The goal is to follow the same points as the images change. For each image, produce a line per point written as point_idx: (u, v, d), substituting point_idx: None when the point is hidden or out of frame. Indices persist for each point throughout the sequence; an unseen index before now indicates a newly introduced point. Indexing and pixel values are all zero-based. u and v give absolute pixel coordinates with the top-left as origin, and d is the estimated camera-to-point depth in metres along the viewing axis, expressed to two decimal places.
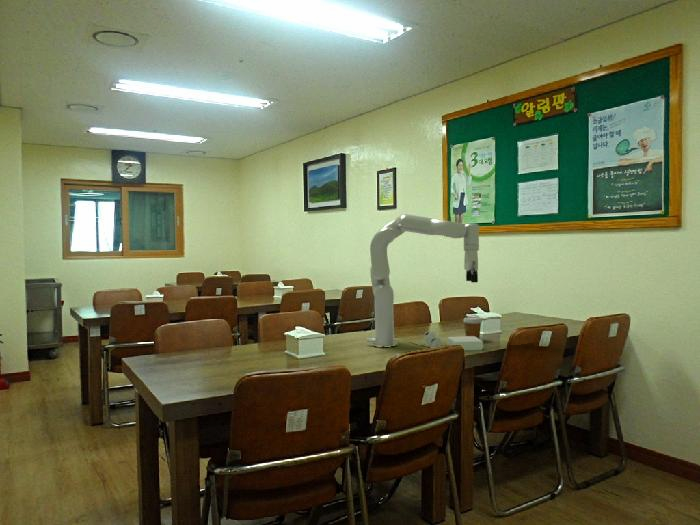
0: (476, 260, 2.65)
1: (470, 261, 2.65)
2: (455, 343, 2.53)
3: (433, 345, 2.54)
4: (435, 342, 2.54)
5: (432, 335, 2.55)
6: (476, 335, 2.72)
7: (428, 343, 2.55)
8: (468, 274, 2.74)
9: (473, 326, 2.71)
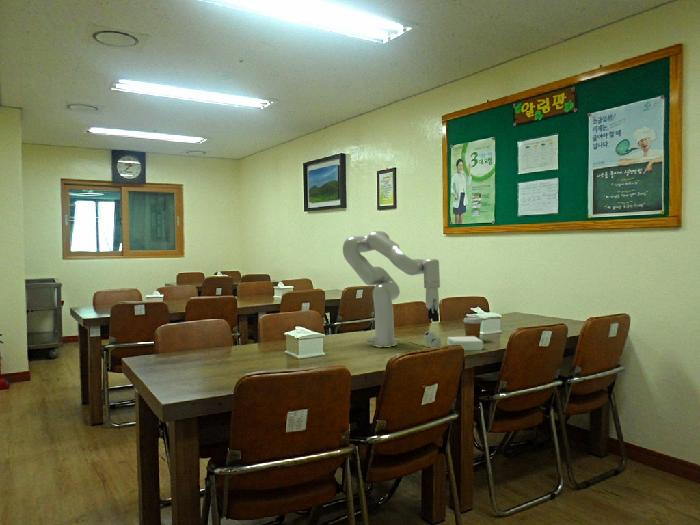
0: (437, 298, 2.52)
1: (430, 299, 2.51)
2: (455, 343, 2.53)
3: (433, 345, 2.54)
4: (435, 342, 2.54)
5: (432, 335, 2.55)
6: (476, 335, 2.72)
7: (428, 343, 2.55)
8: (430, 312, 2.61)
9: (473, 326, 2.71)
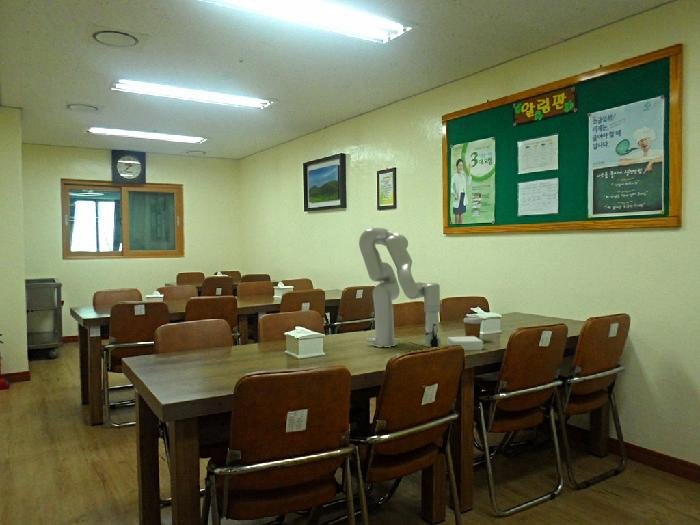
0: (436, 323, 2.52)
1: (430, 324, 2.52)
2: (455, 343, 2.53)
3: None
4: None
5: None
6: (476, 335, 2.72)
7: (428, 343, 2.55)
8: None
9: (473, 326, 2.71)
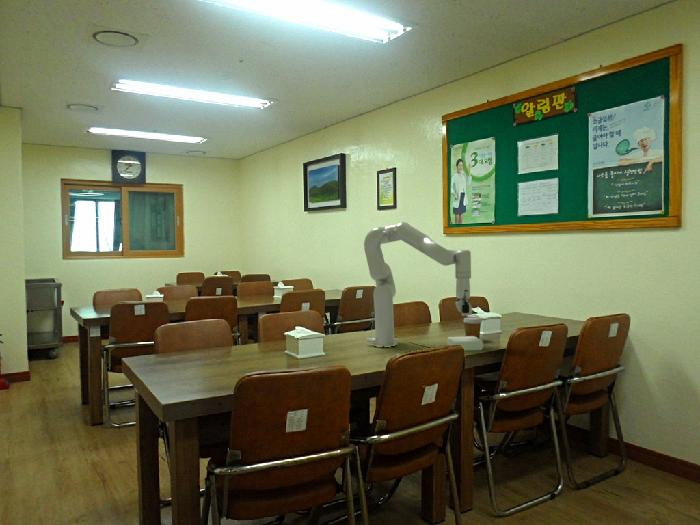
0: (468, 288, 2.54)
1: (462, 290, 2.54)
2: (455, 343, 2.53)
3: None
4: None
5: None
6: (476, 335, 2.72)
7: (459, 309, 2.57)
8: None
9: (473, 326, 2.71)
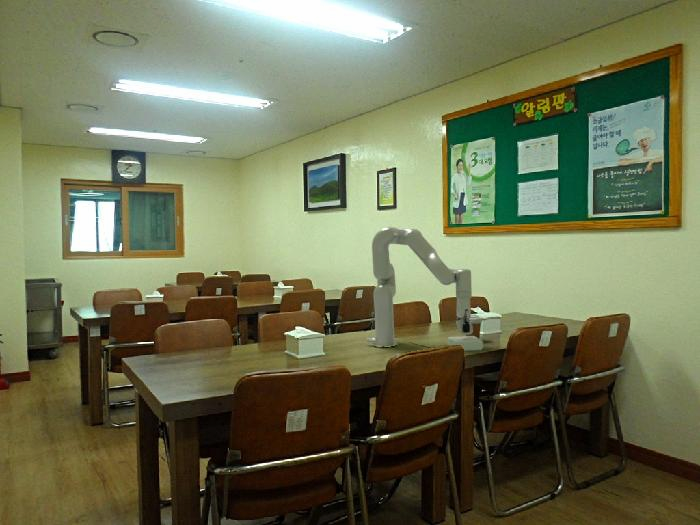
0: (468, 308, 2.54)
1: (462, 309, 2.54)
2: (455, 343, 2.53)
3: None
4: None
5: None
6: (476, 335, 2.72)
7: (460, 328, 2.57)
8: None
9: (473, 326, 2.71)
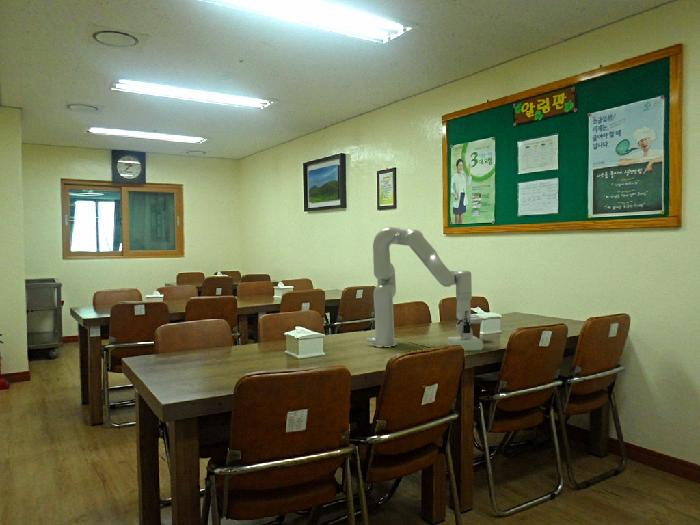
0: (469, 310, 2.54)
1: (462, 311, 2.54)
2: (455, 343, 2.53)
3: (465, 334, 2.57)
4: None
5: None
6: (476, 335, 2.72)
7: (460, 332, 2.57)
8: None
9: (473, 326, 2.71)
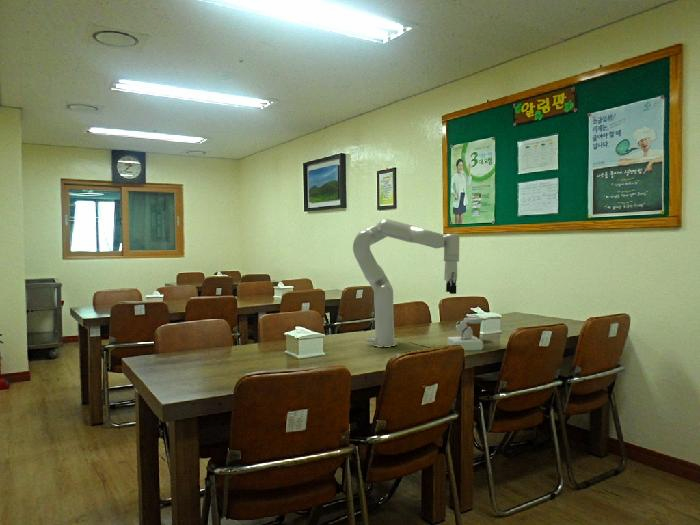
0: (455, 271, 2.61)
1: (449, 272, 2.61)
2: (455, 343, 2.53)
3: (465, 334, 2.57)
4: (467, 331, 2.57)
5: (464, 324, 2.57)
6: (476, 335, 2.72)
7: (460, 332, 2.57)
8: (448, 285, 2.70)
9: (473, 326, 2.71)
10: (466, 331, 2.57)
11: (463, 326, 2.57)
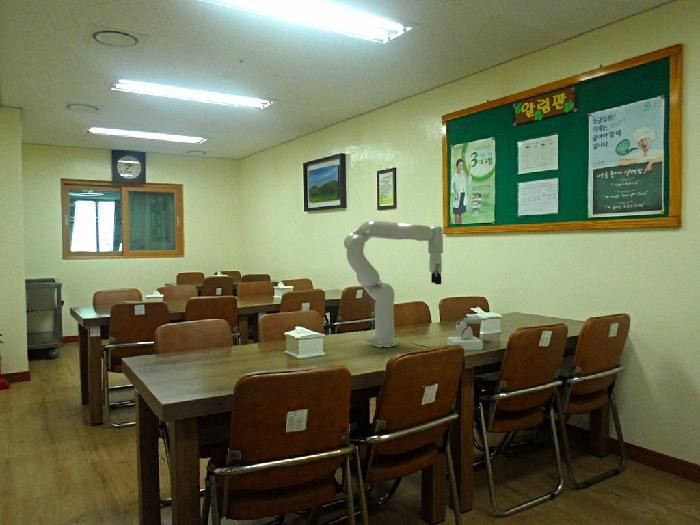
0: (440, 262, 2.70)
1: (434, 263, 2.70)
2: (455, 343, 2.53)
3: (465, 334, 2.57)
4: (467, 331, 2.57)
5: (464, 324, 2.57)
6: (476, 335, 2.72)
7: (460, 332, 2.57)
8: (433, 276, 2.80)
9: (473, 326, 2.71)
10: (466, 331, 2.57)
11: (463, 326, 2.57)
